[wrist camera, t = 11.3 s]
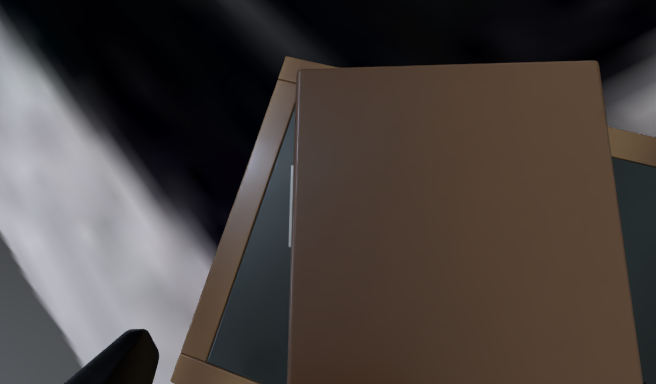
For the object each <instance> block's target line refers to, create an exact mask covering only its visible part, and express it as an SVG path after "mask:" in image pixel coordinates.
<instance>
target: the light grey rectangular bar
mask: <svg viewBox="0 0 656 384" xmlns="http://www.w3.org/2000/svg"><path fill="white" fill-rule="evenodd" d="M293 169H294V165H291V184H290V216H289V247H291V233H292V201H293Z"/></svg>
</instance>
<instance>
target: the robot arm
mask: <svg viewBox="0 0 656 384" xmlns="http://www.w3.org/2000/svg"><path fill="white" fill-rule="evenodd" d="M158 360H159V352H158V349H157V347H156V345H155V343H154V342H153V340H152V338H151V336H150V334H149V332H148V331H147V330H145V329H131V330H128V331H126V332H125V333H124V334H122V335H121V336H120V337H119V338H118V339H116V340H115V341H114V342H113V343H112V344H111V345H109V346H108V347H107V348H106V349H105V350H103V351H102V352H101V353H100V354H99V355H97V356H96V357H95V358H94V359H93V360H91V361H90V362H89V363H88V364H87V365H86V366H84V367H83V368H82V369H81V370H80V371H79V372H77V373H76V374H75V375H74V376H72V377H71V378H70V379H69V380H68V381H67V382H65V383H64V384H152V383H153V379H154V376H155V372H156V368H157V365H158ZM643 384H646V383H645V382H644V381H643Z"/></svg>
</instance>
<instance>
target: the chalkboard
mask: <svg viewBox="0 0 656 384" xmlns="http://www.w3.org/2000/svg"><path fill="white" fill-rule="evenodd" d="M319 68H338V67H333V66H328V65H324V64H319V63H315V62H310V61H306V60H301V59H297V58H292V57H288V56H286V58H285V61H284V64H283V66H282V69H281V72H280V75H279V78H278V79H279V80H278V81H277V84H276V87H275V89H274V92H273V95H272V98H271V101H270V103H269V106H268V109H267V112H266V115H265V117H264V120H263V123H262V126H261V129H260V131H259V134H258V137H257V140H256V143H255V145H254V148H253V151H252V154H251V157H250V159H249V162H248V165H247V168H246V171H245V173H244V176H243V179H242V182H241V185H240V187H239V190H238V193H237V196H236V199H235V201H234V204H233V207H232V210H231V213H230V215H229V218H228V221H227V224H226V227H225V229H224V232H223V235H222V238H221V241H220V244H219V246H218V249H217V252H216V255H215V258H214V260H213V263H212V266H211V269H210V272H209V274H208V277H207V280H206V283H205V286H204V288H203V291H202V294H201V297H200V300H199V302H198V305H197V308H196V311H195V314H194V316H193V319H192V322H191V325H190V328H189V330H188V333H187V336H186V339H185V342H184V344H183V347H182V350H181V352H182V353H181V354H180V355H179V358H178V361H177V364H176V367H175V369H174V372H173V375H172V378H171V382H172V383H174V384H287V362H288V329H289V297H290V265H291V247H289V216H290V184H291V165H294V136H295V104H296V74H297V72H298V70H300V69H319ZM608 134H609V141H610V148H611V156H612V163H613V170H614V177H615V184H616V191H617V199H618V206H619V213H620V220H621V227H622V234H623V242H624V249H625V256H626V263H627V270H628V277H629V285H630V292H631V299H632V306H633V313H634V320H635V328H636V335H637V342H638V349H639V356H640V363H641V371H642V378H643V381H644V382H645V383H646V384H656V138H655V137H651V136H646V135H642V134H637V133H633V132H628V131H624V130H619V129H614V128H610V127H608Z"/></svg>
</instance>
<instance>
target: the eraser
mask: <svg viewBox="0 0 656 384" xmlns="http://www.w3.org/2000/svg"><path fill="white" fill-rule="evenodd" d="M287 384H643V378H642V371H641V363H640V356H639V349H638V342H637V335H636V328H635V320H634V313H633V306H632V299H631V292H630V285H629V277H628V270H627V263H626V256H625V249H624V242H623V234H622V227H621V220H620V213H619V206H618V199H617V191H616V184H615V177H614V170H613V163H612V156H611V148H610V141H609V134H608V127H607V120H606V113H605V105H604V98H603V91H602V84H601V77H600V70H599V64H598V62H597V61H562V62H527V63H493V64H458V65H423V66H389V67H354V68H319V69H300V70H298V72H297V74H296V104H295V136H294V169H293V201H292V233H291V265H290V297H289V329H288V362H287Z"/></svg>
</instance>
